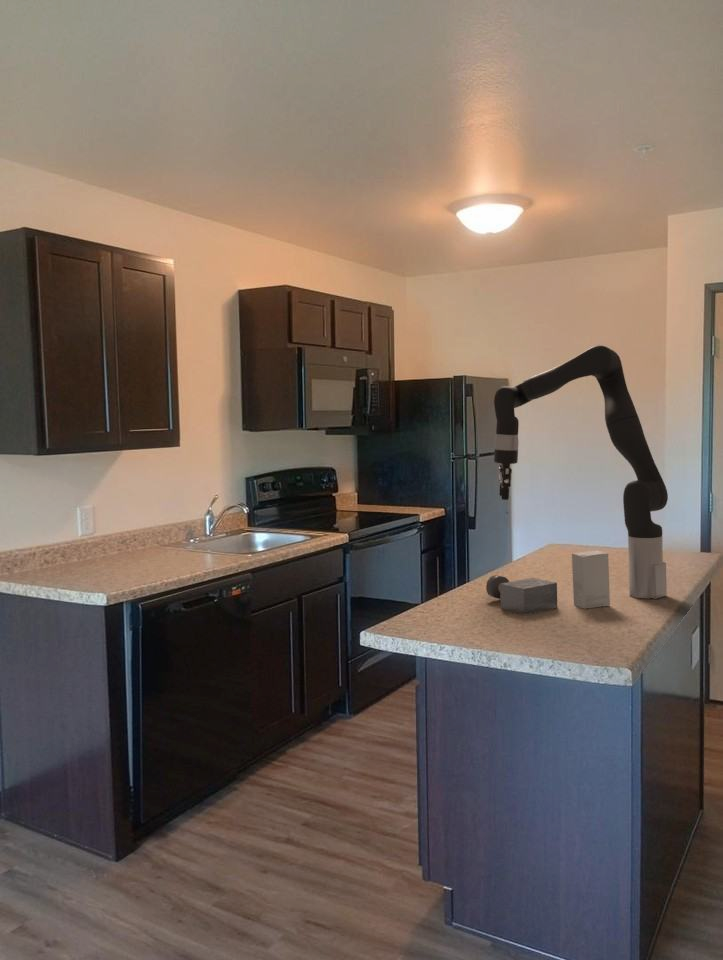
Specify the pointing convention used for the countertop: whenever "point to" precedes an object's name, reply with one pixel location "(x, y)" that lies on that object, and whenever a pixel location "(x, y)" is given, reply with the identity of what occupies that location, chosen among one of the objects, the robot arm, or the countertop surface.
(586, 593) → the skincare box
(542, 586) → the block
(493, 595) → the knob
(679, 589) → the countertop surface
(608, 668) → the countertop surface
